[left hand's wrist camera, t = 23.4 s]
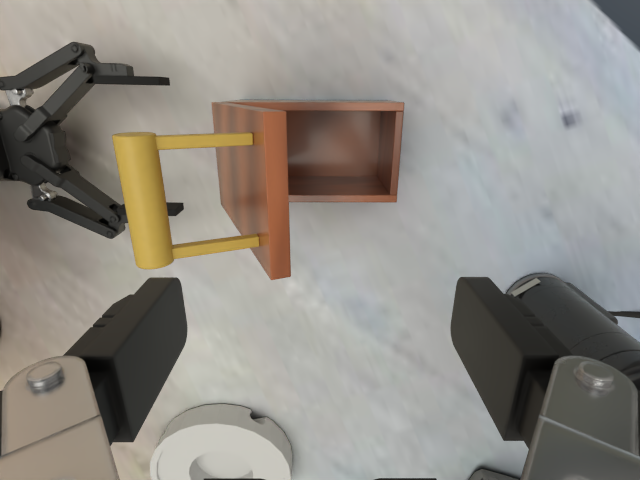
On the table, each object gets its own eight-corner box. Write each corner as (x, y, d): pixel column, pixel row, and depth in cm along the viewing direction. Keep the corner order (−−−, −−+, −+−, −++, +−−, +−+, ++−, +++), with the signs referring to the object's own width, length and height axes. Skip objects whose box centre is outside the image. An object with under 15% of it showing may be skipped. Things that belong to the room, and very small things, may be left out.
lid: (286, 111, 20) (102, 114, 17) (291, 276, 24) (138, 304, 21) (225, 102, 36) (122, 102, 33) (233, 203, 40) (141, 212, 36)
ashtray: (306, 489, 70) (305, 512, 66) (186, 509, 72) (179, 532, 68) (272, 392, 62) (269, 411, 58) (137, 417, 64) (126, 437, 60)
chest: (386, 100, 46) (404, 102, 37) (381, 181, 50) (396, 202, 40) (240, 99, 46) (220, 101, 36) (246, 180, 50) (228, 202, 40)
